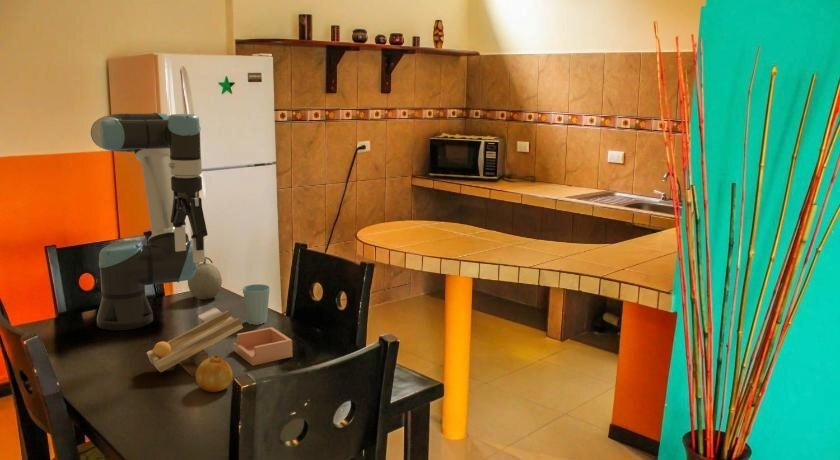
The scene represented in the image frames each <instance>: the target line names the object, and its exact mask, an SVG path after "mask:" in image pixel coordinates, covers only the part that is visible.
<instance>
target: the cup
mask: <svg viewBox="0 0 840 460" xmlns="http://www.w3.org/2000/svg"><path fill="white" fill-rule="evenodd" d="M270 292H271V291H270V285H267V284H263V283H262V284H261V283H258V284H249V285H248V284H247V285H246V286H245V285H244V287H242V294H243V298H244V299H243V300H244V308H245V314H246V320H247V323H248V325H252V324H253V325H254V326H258V325H259V324H260V325H263V323H264V324H265V323H267V321H268V312H269V301H270V300H269V299H270Z"/></svg>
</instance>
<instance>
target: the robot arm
mask: <svg viewBox="0 0 840 460" xmlns="http://www.w3.org/2000/svg"><path fill="white" fill-rule="evenodd" d="M201 130H202V129H201V126H200V117H199V116H198V115H197V114H191V113H174V114H167V113H158V112H153V113H113V114H109V115H104V116H102V117H100V118H98V119H97V120H96V121H94V122H93V124H92V125H91V128H90V136H91V140H92V142H93V143H94V144H95V145H96V146H97V147H99V148H100V149H103V150H105V151H106V150H107V151H111V152H118V153H125V152H126V153H134V156H135V157H134V158H135V159H136V160H137V161H139V162H140V164H141V167H142V168H141V169H142V175H143V176H142V177H143V182H144V190H145V195H146V202H147V203H146V204H147V209H148V215H149V222H150V232H151V235H150V236H149V237H148V239H147V244H143V241H141V240H139V239H137V240H136V239H134V240H133V239H132V240H131V239H130V240H122V241H118V242H114V243H110V244H107V245H106V246H104V247H103V248H102V249H101V250H100V251H99V255H98V257H99V260H98V261H99V262H98V267H99V272H100V273H99V274H100V289H101V291H100V292H101V300H100V304H99V309H98V312H97V316H96V326H97V327H98V328H99V329H102V330H108V331H127V330H134V329H135V330H136V329H140V328H143V327H145V326H147V325H150V324H151V323H152V322H153V321H154V315H153V310H152V307H151V305H150V303H149V300H148V298H147V295H146V286H150V285H151V286H153V285H159V284H160V285H162V284H170V283H180V282H185V281H188V280H190V279H192V278H193V276H194V275H195V272H196V266H197V265H198V264H199V263H203V262H205V257H206V256H205V237H207V236H208V230H207V225H206V220H205V215H204V210H203V204H202V203H203V202H202V198H201V197H197V194H196V193H197V192H201V191H202V190H203V179H202V176H201V174H202V172H203V171H202V169H203V168H202V157H201V153H202V152H201V151H202V150H201ZM186 217H187V218H188V222H189V224H190V225H189V226H190V227H191V231H192V235H191V236H190V238H189V235H188V233H187V232H186V225H187V223H186ZM190 239H192V240H190Z"/></svg>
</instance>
